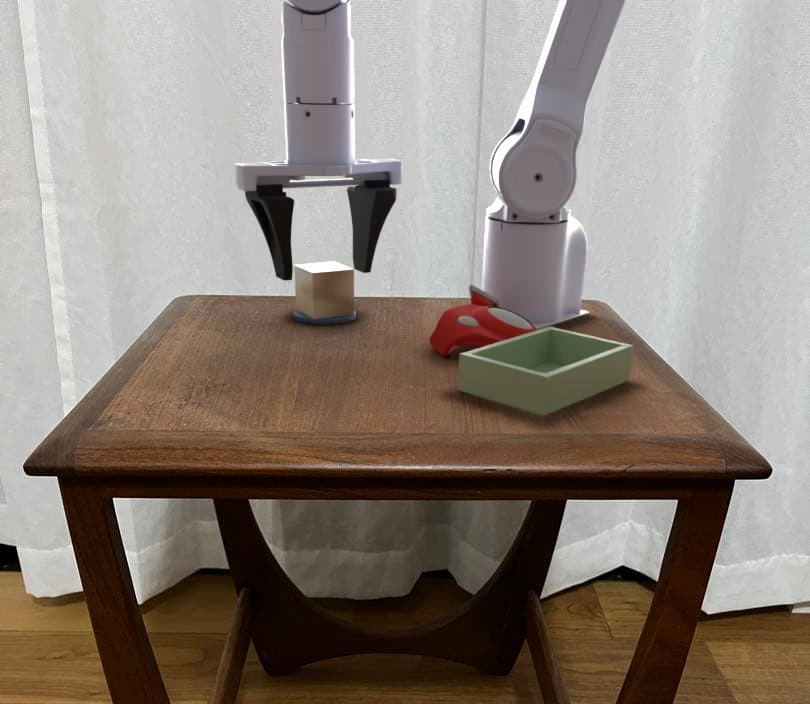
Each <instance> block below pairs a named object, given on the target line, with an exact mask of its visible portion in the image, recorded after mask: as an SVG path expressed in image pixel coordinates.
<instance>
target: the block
mask: <svg viewBox="0 0 810 704" xmlns="http://www.w3.org/2000/svg"><path fill="white" fill-rule="evenodd" d="M293 271H294V288H295V289H294V290H295V291H294V292H295V294H294V295H295V311H296V310H298V311H300V312H302V313H303V314H305V315H307V316H309V317H311V318H313V319H321V318H330V317H338V316H347V315H354V311H355V269H354V268H352V267H349V266H347V265H345V264H342V263H339V262H337V261H322V262H313V263H300V264H294V266H293Z"/></svg>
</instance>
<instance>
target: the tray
mask: <svg viewBox="0 0 810 704" xmlns="http://www.w3.org/2000/svg"><path fill="white" fill-rule="evenodd" d="M633 353H634V345H633V344H629V343H624V342H619V341H615V340H611V339H607V338H602V337H599V336H598V337H597V336H593V335H589V334H585V333H581V332H576V331H571V330H567V329H562V328H558V327H555V326H547V327H544V328H541V329H538V330H537V331H534V332H530V333H527V334H524V335H520V336H517V337H514V338H510V339H507V340H504V341H501V342H497V343H494V344H491V345H487V346H484V347H478V348H475V349H471V350H468V351H465V352H460V353H459V355H458V356H459V357H458V376H457V377H458V378H457V391H460V392H462V393H466V394H469V395H473V396H476V397H480V398H482V399H486V400H489V401H492V402H496V403H500V404H502V405H506V406H510V407H513V408H516V409H519V410H523V411H526V412H529V413H532V414H535V415H539V416H542V417H544V416H547V415H549V414H552V413H554V412H556V411H559V410H561V409H563V408H566V407H569V406H571V405H573V404H575V403H578V402H581V401H583V400H585V399H588V398H590V397H592V396H594V395H597V394H599V393H602V392H604V391H607V390H610V389H611V388H614V387H617V386H619V385H622V384H623V383H626V382H628V381H630V380H629V379H630V375H631V368H632V359H633Z"/></svg>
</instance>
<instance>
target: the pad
mask: <svg viewBox="0 0 810 704" xmlns="http://www.w3.org/2000/svg"><path fill="white" fill-rule="evenodd" d="M356 317H357V311H356V310H354V315H347V316H338V317H330V318H321V319H313V318H311V317H309V316H307V315H305V314H303V313H302V312H300V311H298V310H296V309H295V310H294V311H293V318H294V319H295V320H296V321H298V322H300V323H304V324H310V325H338V324H345V323H349V322H352V321H353V320H356Z"/></svg>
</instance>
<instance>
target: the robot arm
mask: <svg viewBox="0 0 810 704" xmlns="http://www.w3.org/2000/svg"><path fill="white" fill-rule="evenodd" d="M287 1H288V2H287ZM287 1H282V2H281V5H282V6H281V7H282V11H281V13H280V14H281V16H280V17H281V18H280V19H281V24H282V30H283V33H282V37H281V41H280V42H281V63H282V65H281V66H282V84H283V85H282V87H283V102H284V107H283V108H284V128H285V129H284V131H285V149H286V150H285V151H286V153H285V154H286V160H275V161H260V162H249V163H248V162H246V163H245V162H244V163H235V164H234V173H235V175H234V176H235V184H236V185H235V187H236V190H239V191H242V192H244V196H245V199H246V202H247V204H248V205H249V207H250V209H251V210H252V213H253V214H254V217H255V219H256V220H257V223H258V225H259V226H260V229H261V231H262V234H263V236H264V238H265V241H266V244H267V247H268V250H269V253H270V257H271V260H272V265H273V268H274V273H275V277H276V278H278V279H280V280H282V281H284V282H285V281H293V272H294V266H293V252H292V228H293V227H292V226H293V216H294V215H293V214H294V207H295V199H293V197H290V196H287V192H286V191H284V189H303V188H325V187H347V188H346V192H347V198H348V203H349V210H350V217H351V227H352V262H353V269H354V271H355V270H356V271H357V272H360V273H362V274H369V273H371V272H372V267H373V261H374V257H375V253H376V249H377V245H378V242H379V238H380V236H381V233H382V230H383V227H384V225H385V223H386V220H387V218H388V216H389V214H390V212H391V210H392V208H393V207H394V205H395V203H396V201H397V196H398V194H397V192H398V190H397V189H398V188H396V187H392V186H396V185H402V179H403V178H402V173H403V172H402V170H403V161H402V160H400V159H394V158H356V127H355V126H356V123H355V121H356V120H355V117H356V116H355V41H354V39H353V37H352V36H351V33H352V32H351V4H350V2H351V1H352V0H287ZM625 3H626V0H559V2H558V5H557V8H556V11H555V14H554V16H553V20H552V22H551V26H550V28H549V30H548V35H547V37H546V40H545V43H544V46H543V48H542V52H541V55H540V58H539V60H538V63H537V66H536V69H535V73H534V75H533V78H532V81H531V84H530V86H529V88H528V90H527V92H526V94H525V97H524V99H523V101H522V103H521V105H520V106H519V109H518V111H517V115H516V117H515V120H514V123H513V125H512V126H511V128H510V130H509V131H508V132H507V133H506V134H505V135H504V136H503V137H502V139H501V140H499V142H498V143H497V144H496V146H495V148H494V150H492V151H493V152H492V155H491V157H490V162H489V175H490V180H491V184H492V185H493V188H494V190H495V191H496V192H497V194H498V196H497V197H496V198H495V200H494V202H493V203H492V205H490V206H489V207H487V208H486V209H485V215H486V216H485V223H484V225H485V226H484V242H483V243H484V244H483V261H482V278H481V290H482V291H484V292H486V293H488V294H490V295H491V296H493V297H495V298H497V299H498V300H499V304H500V308H504V309H507V310H509V311H512V312H514V313H516V314H518V315H520V316H522V317H524V318H525V319H527V320H528V321H529V322H531V323H532V324H533V325H534V326H535V327H536V329H537V330H540V329H543V328H546V327H552V326H554V325H557V324H560V323H563V322H567V321H571V320H574V319H578V318H580V317H583V316H586V315H589V314H590V312H589V311H588V310H585V309H582V301H583V293H584V284H585V276H586V268H587V267H586V266H587V259H588V238H587V235H586V232H585V229H584V227H583V225H582V224H581V223H580V222H579V220H577V219H576V218H575V217H573V216H572V215H571V214H572V213H571V212H572V209H570V208H569V207H566V204H567V203H568V202H569V201H570V199H571V197H572V195H573V194H574V191H575V188H576V185H577V180H578V166H577V153H578V147H579V145H580V141H581V139H582V136H583V133H584V130H585V121H586V113H587V106H588V102H589V99H590V97H591V94H592V91H593V89H594V85H595V83H596V80H597V77H598V75H599V72H600V70H601V67H602V64H603V62H604V59H605V57H606V53H607V50H608V48H609V45H610V43H611V40H612V37H613V35H614V32H615V29H616V27H617V24H618V21H619V19H620V16H621V13H622V10H623V8H624V5H625ZM306 177H341V178H329V179H306ZM342 177H343V178H342ZM391 185H392V186H391Z"/></svg>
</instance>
